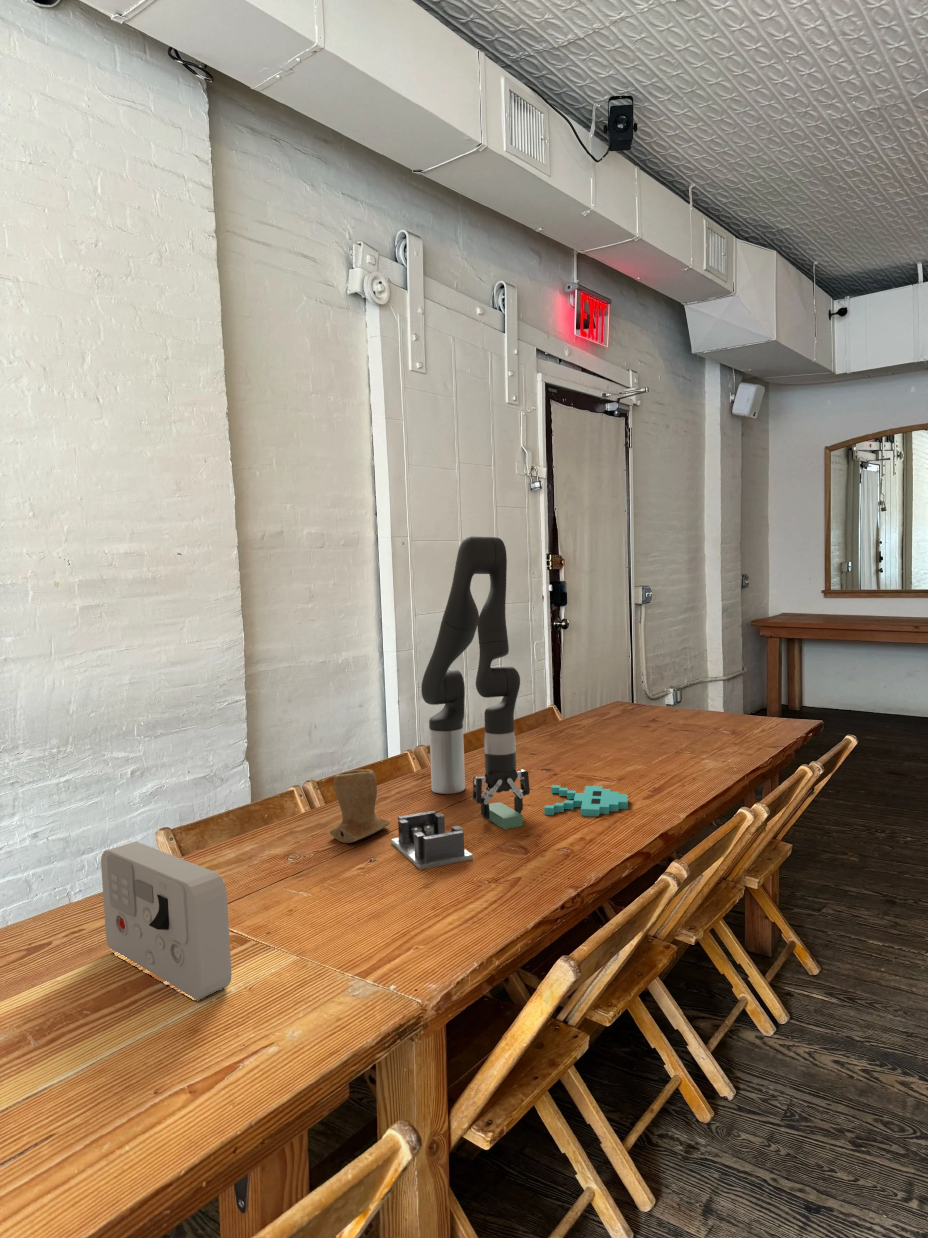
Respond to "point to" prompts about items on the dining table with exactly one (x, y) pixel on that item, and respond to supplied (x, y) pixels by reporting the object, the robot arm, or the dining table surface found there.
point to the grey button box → (167, 917)
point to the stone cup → (357, 805)
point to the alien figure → (588, 801)
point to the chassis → (430, 840)
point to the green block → (504, 816)
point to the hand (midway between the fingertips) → (502, 815)
